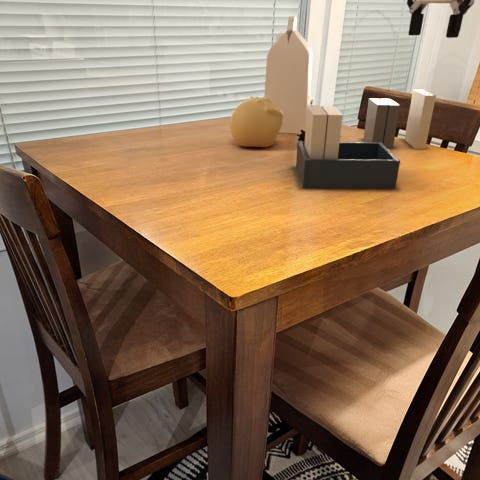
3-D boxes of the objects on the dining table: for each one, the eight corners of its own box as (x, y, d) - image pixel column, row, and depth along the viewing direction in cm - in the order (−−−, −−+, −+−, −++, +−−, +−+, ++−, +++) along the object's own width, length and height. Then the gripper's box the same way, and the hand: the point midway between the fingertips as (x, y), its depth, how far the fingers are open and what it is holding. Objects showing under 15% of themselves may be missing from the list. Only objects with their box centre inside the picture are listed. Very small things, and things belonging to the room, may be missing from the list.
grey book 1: (372, 142, 122) (379, 98, 117) (381, 151, 115) (388, 105, 109) (362, 142, 122) (368, 98, 117) (370, 151, 115) (377, 104, 109)
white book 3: (413, 142, 122) (423, 89, 116) (424, 151, 115) (436, 95, 108) (403, 142, 122) (413, 89, 116) (414, 151, 115) (425, 95, 108)
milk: (305, 134, 129) (314, 17, 115) (262, 131, 131) (265, 16, 117) (309, 124, 139) (318, 16, 125) (269, 122, 141) (273, 15, 127)
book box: (377, 171, 101) (381, 142, 98) (394, 193, 89) (400, 160, 86) (295, 171, 101) (297, 141, 98) (302, 192, 89) (304, 159, 86)
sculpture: (288, 149, 116) (291, 99, 110) (240, 153, 112) (240, 102, 106) (268, 138, 125) (270, 91, 119) (223, 142, 121) (223, 94, 115)
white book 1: (314, 170, 98) (320, 105, 92) (320, 184, 91) (327, 114, 84) (302, 170, 98) (307, 105, 92) (307, 184, 91) (313, 114, 84)
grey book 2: (383, 142, 122) (390, 98, 117) (392, 151, 115) (400, 105, 109) (373, 142, 122) (379, 98, 117) (382, 151, 115) (389, 105, 109)
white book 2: (327, 170, 98) (334, 105, 92) (334, 184, 91) (342, 114, 84) (315, 170, 98) (321, 105, 92) (321, 184, 91) (328, 114, 84)
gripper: (504, -70, 91) (479, 38, 100) (428, -61, 103) (412, 34, 112) (479, -73, 87) (456, 39, 97) (403, -64, 100) (388, 34, 109)
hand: (432, 36), depth 104 cm, fingers open, 9 cm apart
